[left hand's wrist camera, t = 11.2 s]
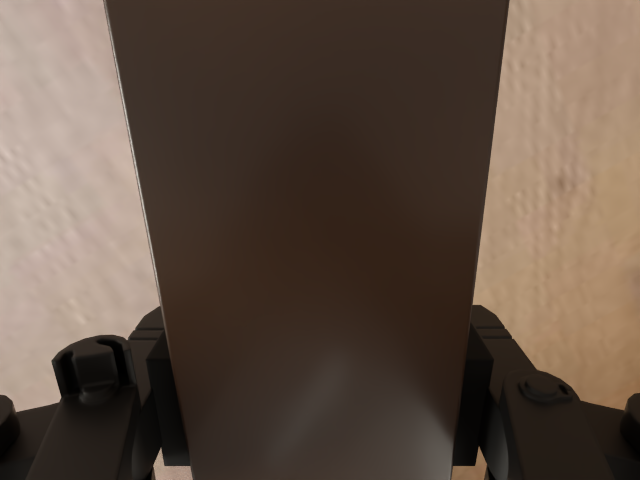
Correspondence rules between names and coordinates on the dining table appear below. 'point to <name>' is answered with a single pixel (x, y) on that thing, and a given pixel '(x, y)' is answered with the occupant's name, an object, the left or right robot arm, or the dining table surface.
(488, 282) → the dining table surface
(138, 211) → the dining table surface
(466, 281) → the beam
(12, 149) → the dining table surface
